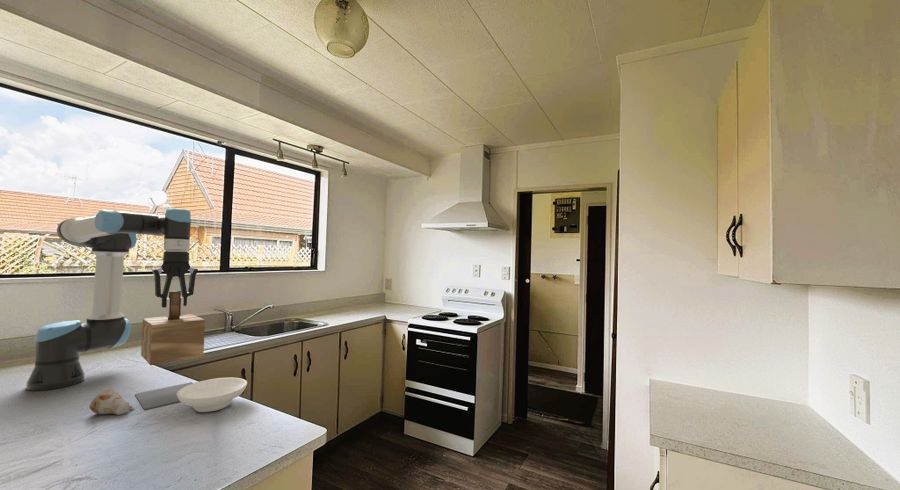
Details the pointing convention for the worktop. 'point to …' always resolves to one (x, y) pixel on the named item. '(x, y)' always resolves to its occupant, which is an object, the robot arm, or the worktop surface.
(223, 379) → the bowl
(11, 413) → the worktop surface
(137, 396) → the mat
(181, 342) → the wooden block with knob
